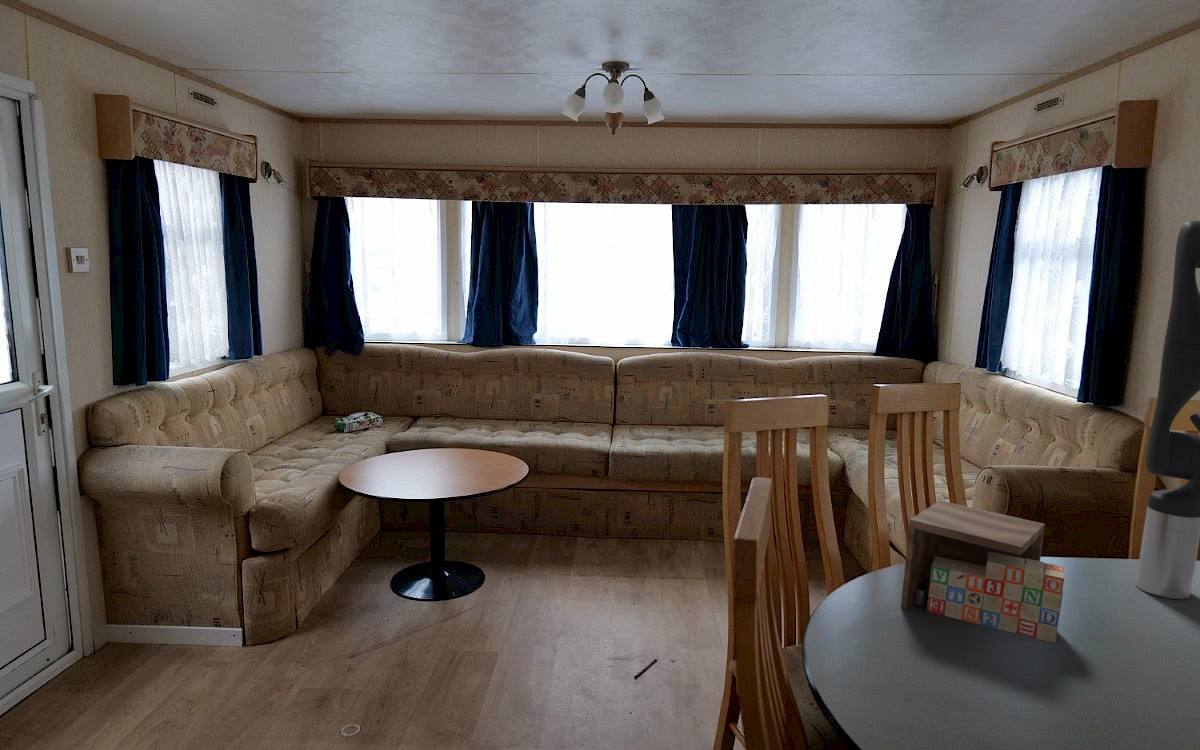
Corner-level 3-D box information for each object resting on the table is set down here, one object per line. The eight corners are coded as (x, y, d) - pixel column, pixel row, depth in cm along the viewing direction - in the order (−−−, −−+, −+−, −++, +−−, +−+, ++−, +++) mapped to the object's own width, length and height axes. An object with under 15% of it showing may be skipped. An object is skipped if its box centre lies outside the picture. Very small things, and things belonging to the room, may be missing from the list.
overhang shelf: (931, 581, 160) (940, 500, 157) (1033, 611, 148) (1044, 524, 145) (900, 607, 147) (909, 519, 145) (1009, 642, 135) (1021, 547, 132)
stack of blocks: (925, 612, 146) (932, 550, 144) (930, 600, 151) (936, 540, 150) (1056, 643, 136) (1065, 577, 134) (1056, 629, 141) (1064, 565, 139)
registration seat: (931, 588, 157) (933, 574, 156) (939, 590, 156) (941, 576, 155) (914, 603, 149) (915, 589, 149) (922, 606, 148) (923, 591, 148)
